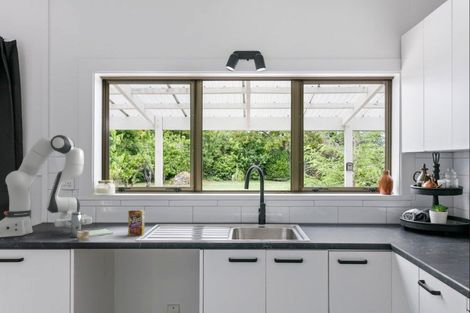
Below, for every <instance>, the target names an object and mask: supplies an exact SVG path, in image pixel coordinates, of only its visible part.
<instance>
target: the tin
mask: <svg viewBox="0 0 470 313" xmlns="http://www.w3.org/2000/svg"><path fill="white" fill-rule="evenodd" d="M71 214H72V218H71V222H72V225H71V228H70V237H71V238H77V231H82V225H81V214H83V213H82V211H79V212H72V213H71Z"/></svg>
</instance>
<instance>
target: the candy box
mask: <svg viewBox="0 0 470 313" xmlns="http://www.w3.org/2000/svg"><path fill="white" fill-rule="evenodd" d="M145 213H146V212H145V209H128V214H127V215H128V220H127V226H128V228H127V231H128V232H127V235H128V236H134V237H135V236H138V237H139V236H140V237H143V236H144V235H145Z"/></svg>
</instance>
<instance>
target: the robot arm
mask: <svg viewBox="0 0 470 313" xmlns="http://www.w3.org/2000/svg"><path fill="white" fill-rule="evenodd" d="M54 152H57V153H61V154H63V155H64V156H65V161H64V166H63V168H62V170H60V171H58V173H57V174H56V176H55V178H54V183H53V185H52V189H51V192H50V194H49V198H48V200H47V202H46V210H47V211H48V212H49V213H51V214H56V213H59V216H58V217H59V218H57V219H54V221H52V224H54V226H55V227H57V228H58V227H61V228H62V227H66V228H70V229H71V225H72V222H71V218H72V214H71V213H72V212H80V209H81V203H80V200H79V199H78V198H77V197H73V196H69V197H68V196H67V197H66V196H65V197H64V196H59V194H60V191H61V187H62V186H63V183H65V182H66V181H67V182H68V181H69V180H73V179H76V178H78V177H80V176H81V175H82V174H83V171H84V165H85V154H84V150H83V149H82V148H79V147H75V141H74V140H73V138H71V137H69V136H66V135H63V134H57V135H54V136H53V137H52V138H49V137H43V136H42V137H41V138H39V139H38V140H37V141H36V142H35V143H34V144H33V145H32V147H30V149H29V150H28V152H27V153H26V155H25V156H24V158H23V159H22V163H21V165H20V166H19V168H18V170H14V171H10V173H8V174H7V176H6V178H5V184H6V185H7V191H8V198H9V203H8V204H9V208H8V209H9V210H7V211H3V214H4V216H5V217H4V218H2V219H1V220H0V238H5V237H7V238H8V237H17V236H18V237H20V236H24V235H29V234H31V233H33V232H34V230H33V227H32V221H31V220H32V219H31V218H32V210H31V202H32V201H31V200H32V198H31V194H30V191H29V187H30V186H31V185H32V184H33V183H34V181H35V179H36V178H37V177H38V174H39V172H40V170H41V169H42V167H43V165H44V164H45V163H46V161H47V160H48V158H49V157H50V156H51V154H52V153H54ZM92 223H93V218H92V217H91V216H89V215H87V214H85V213H82V214H81V226H83V225H84V226H85V225H91V224H92Z"/></svg>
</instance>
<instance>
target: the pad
mask: <svg viewBox="0 0 470 313" xmlns="http://www.w3.org/2000/svg"><path fill="white" fill-rule="evenodd" d="M88 231H89V238H92V237H99V236H107V235H113V234H114V232H113V231H111V230H109V229H107V228H103V229H94V230H93V229H92V230H88Z"/></svg>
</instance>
